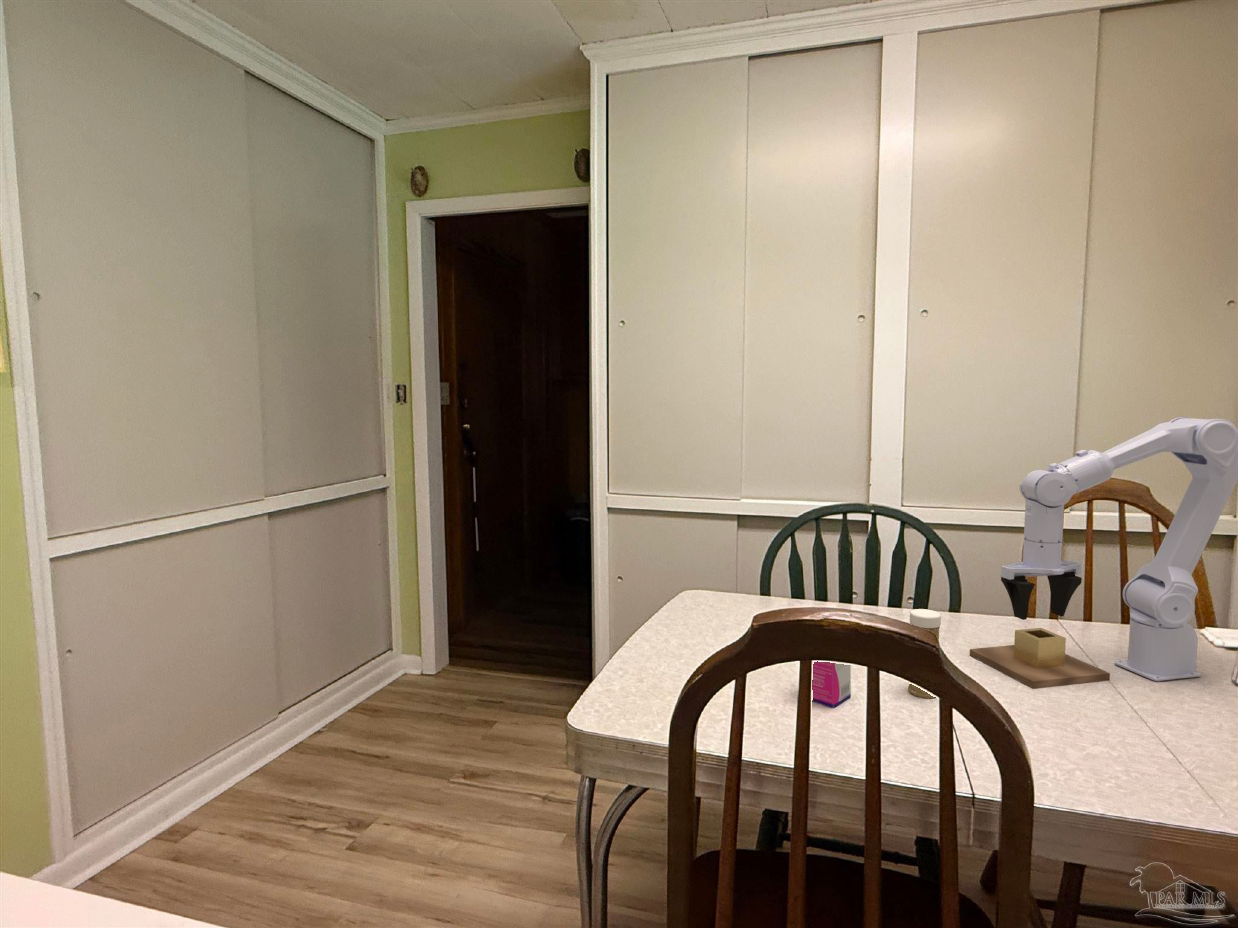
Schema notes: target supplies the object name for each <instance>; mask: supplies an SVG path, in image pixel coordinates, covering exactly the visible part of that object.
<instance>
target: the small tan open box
mask: <svg viewBox="0 0 1238 928" xmlns="http://www.w3.org/2000/svg"><path fill="white" fill-rule="evenodd" d="M1038 637H1039V638H1038ZM1013 641H1014V644H1013V645H1014V658H1016V659H1018V660H1020V661H1022V662H1024V663H1026V664H1029V665H1031V666H1033V667H1035V668H1037V669H1040V668H1050V667H1060V666H1064V662H1065V654H1066V642H1067V638H1066V637H1065V636H1062V635H1060V634H1058V633H1055V632H1053V631H1050V630H1048V629H1045V628H1042V627H1035V628H1023V629H1015V630H1014V640H1013Z"/></svg>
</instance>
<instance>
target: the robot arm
mask: <svg viewBox="0 0 1238 928" xmlns="http://www.w3.org/2000/svg"><path fill="white" fill-rule="evenodd" d="M1164 452H1165V453H1171V454H1172V455H1173V456H1175V457H1176V458H1177V459H1179V461H1181V462H1182V463H1183V464H1184V466H1186V468H1187V470H1188V471H1189V473H1190V475H1191V476H1192V478H1191V480H1190V483H1189V484H1188V487H1187V489H1186V491H1185V493H1184V494H1183V498H1182V499H1181V502H1180V504H1179V505H1178V508H1177V510H1176V512H1175V514H1174V516H1173V518H1172V520H1171V523H1170V525H1169V527H1168V529H1167V531H1166V533H1165V536H1164V537H1163V540H1162V542H1161V544H1160V546H1159V548H1158V550H1157V552H1156V555H1154V556H1155V557H1154V558H1153V560H1152V561H1150V562H1149V563H1146V564H1144V565H1143V566H1141V567H1140V568H1139V569H1138V571H1137V573H1136V574H1135V575H1134V577H1132V579H1130V580H1129V581H1128V582H1126V584H1125V586H1124V587H1123V590H1122V598H1123V601H1124V603H1125V605H1127V606H1128V607H1129V614H1130V619H1129V630H1128V631H1129V634H1128V646H1127V647H1128V649H1127V659H1124V660H1115V661H1113V662H1114V664H1115V665H1116V666H1118V667H1121V668H1123V669H1125V670H1128V671H1130V672H1132V673H1135V674H1138V675H1140V676H1141V677H1144V678H1147V679H1150V680H1151V681H1155V682H1161V681H1170V680H1177V679H1179V680H1180V679H1188V678H1189V679H1190V678H1197V677H1201V673H1200V672H1198V671H1196V669H1197V658H1198V646H1199V645H1198V643H1199V639H1198V633H1197V631H1196V630H1195V628H1194V627H1193V626H1192V625H1191V624H1190V623H1189V622H1190V621H1191V620H1192V618H1193V617H1194V614H1195V611H1196V604H1195V603H1196V602H1195V601H1196V596H1197V594H1198V592H1199V588H1198V586H1197V584H1196V582H1195V579H1194V577H1193V573H1194V571H1195V568H1196V567H1197V564H1198V562H1199V561H1200V559H1201V556H1202V554H1203V552H1204V550H1205V549H1206V546H1207V544H1208V542H1209V540H1210V538H1211V536H1212V534H1213V533H1214V532H1213V531H1214V529H1215V527H1216V526H1217V524H1218V521H1219V519H1220V517H1221V515H1222V512H1223V511H1224V509H1225V508H1226V507H1225V506H1226V504H1227V502H1228V501H1229V498H1230V496H1231V494H1232V492H1233V490H1234V488H1235V486H1236V484H1237V482H1238V428H1237V426H1236V425H1235V424H1234V423H1233V422H1231V421H1229V420H1228V419H1224V418H1212V419H1211V418H1209V419H1208V418H1206V419H1205V418H1193V417H1192V418H1191V417H1188V416H1187V417H1186V416H1185V417H1184V416H1180V417H1175V418H1173V419H1170V421H1166V422H1160V423H1158V424H1157V425H1155V426H1154V427H1152V428H1151V429H1149V430H1146V431H1145V432H1142V433H1140V434H1138V435H1136V436H1134V437H1132V438H1130V439H1128V440H1126V441H1123V442H1122V443H1119V444H1118V445H1115V446H1113V447H1111V448H1110V449H1107V450H1105V451H1103V452H1100V451H1098V450H1094V449H1090V450H1086V449H1080V450H1078V451H1075V456H1072V457H1071V458H1068V459H1066V460H1063V461H1061V462H1059V463H1056V462H1052V463H1050V464H1049V465H1048V468H1047V470H1044V469H1036V470H1032V471H1031V472H1029V473H1028V474H1026V475H1025V476H1026V477H1023V479H1022V481H1021V482H1022V483H1021V484H1019V485H1018V486H1019V491H1020V494H1021V496H1022V497H1023V498H1024V500H1025V511H1024V522H1023V523H1024V525H1023V529H1024V530H1023V547H1022V548H1023V549H1022V552H1023V553H1022V561H1020V562H1017V563H1012V564H1008V565H1001V571H1000V581H1001V582H1002V584H1003V586H1004V588H1005V590H1006V592H1007V594H1008V596H1009V599H1010V603H1011V607H1012V611H1013V616H1014V617H1015V618H1016V619H1018V620H1019V619H1020V620H1023V621H1024V620H1027V618H1028V616H1029V615H1028V614H1029V608H1030V607H1029V605H1030V598H1031V595H1032V592H1033V589H1034V588H1035V585H1036V584H1035V583H1033V582H1030V581H1028V579H1027V578H1030V577H1044V576H1045V577H1047V581H1048V584H1049V590H1050V612H1051V614H1054V615H1056V616H1058V617H1064V616H1065V615H1066V611H1067V608H1068V605H1069V603H1070V601H1071V599H1072V596H1073V595H1074V593H1075V592H1076V590H1077V589H1078V587H1080V585H1081V584H1082V583H1083V582H1082V577H1081V576H1078V575H1081V574H1082V563H1080V562H1076V561H1073V560H1071V561H1070V560H1069V561H1068V560H1067V561H1065V560H1064V561H1063V560H1062V554H1063V551H1062V550H1063V537H1064V536H1063V534H1064V533H1063V532H1064V516H1065V515H1064V513H1065V505H1066V504H1067V503H1069V501H1070V500H1071V499H1072V497H1073V495H1076V494H1078V493H1081V492H1083V491H1086V490H1088V489H1091V488H1093V487H1095V486H1098V485H1100V484H1103V483H1105V482H1108V481H1109V480H1111V478H1112V475H1113V473H1114V470H1117V469H1120V468H1122V467H1123V468H1124V467H1125V466H1128V465H1131V464H1134V463H1136V462H1139V461H1142V460H1144V459H1147V458H1149V457H1152V456H1155V455H1157V454H1160V453H1164Z"/></svg>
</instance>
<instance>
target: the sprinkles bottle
mask: <svg viewBox="0 0 1238 928" xmlns="http://www.w3.org/2000/svg"><path fill="white" fill-rule="evenodd" d="M941 623H942V615H941V614H940V613H939V612H938V611H935V610H932V609H925V608H918V609H917V608H915V609H912V610H910V612H909V625H910V624H912V625H914V626H918V627H921V628H923V629H926V630H929V631H930V632H933V633H934V634H935V635H936V636H937V638H938V639H939V640H940V628H941ZM907 687H908V688H907V691H908V692H909V693H910V694H911V695H913V696H914V697H919V698H923V699H924V698H925V699H931V698H934V697H933V696H931V695H930V694H928V693H927V692H925V691H923V690H921V689H920V688H918V687H916V686H914V685H912V684H909V683H908V686H907Z"/></svg>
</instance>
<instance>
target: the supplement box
mask: <svg viewBox="0 0 1238 928" xmlns="http://www.w3.org/2000/svg"><path fill="white" fill-rule="evenodd" d="M851 666H852V665H844V664H836V663H830V662H818V661H817V662H814V664H813V680H812V690H813V701H812V702H814V703H817V704H820V705H823V706H826V707H830V708H831V709H835V708H836V707H837V706H839V705H840V704H843V703H844V702H846V701H847V700H849V699H851V697H852V695H851V689H852V687H851V686H852V685H851V679H852V678H851V674H852V673H851V672H852V671H851Z"/></svg>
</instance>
